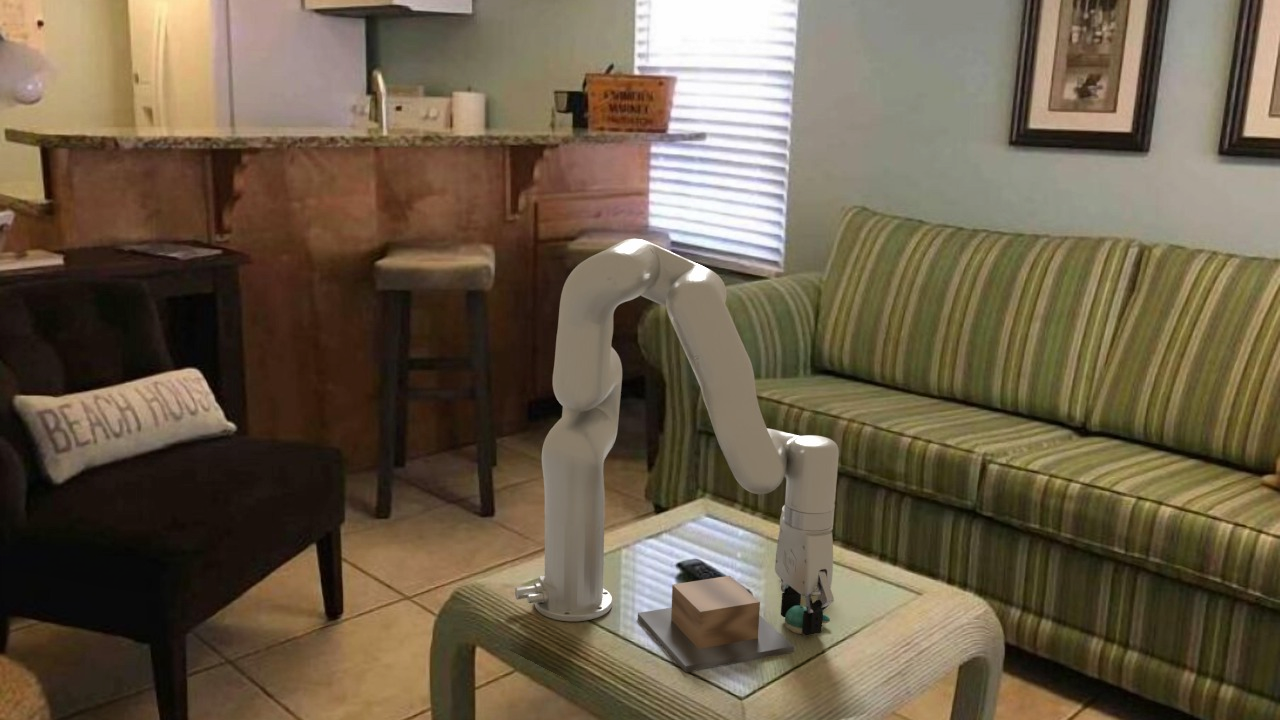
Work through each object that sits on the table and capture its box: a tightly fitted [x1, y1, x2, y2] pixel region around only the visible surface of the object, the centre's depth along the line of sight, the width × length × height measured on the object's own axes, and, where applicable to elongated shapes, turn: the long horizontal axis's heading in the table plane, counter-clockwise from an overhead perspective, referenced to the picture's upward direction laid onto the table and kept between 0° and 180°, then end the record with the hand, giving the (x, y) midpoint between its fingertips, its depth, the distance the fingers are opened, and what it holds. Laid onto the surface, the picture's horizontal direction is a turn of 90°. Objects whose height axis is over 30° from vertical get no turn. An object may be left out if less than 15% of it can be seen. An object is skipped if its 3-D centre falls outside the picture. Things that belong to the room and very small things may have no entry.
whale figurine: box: [784, 605, 831, 635], centre depth 174 cm, size 6×7×4 cm
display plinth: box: [637, 575, 795, 673], centre depth 171 cm, size 18×18×7 cm
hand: (800, 623), depth 174 cm, fingers closed on whale figurine, 5 cm apart
